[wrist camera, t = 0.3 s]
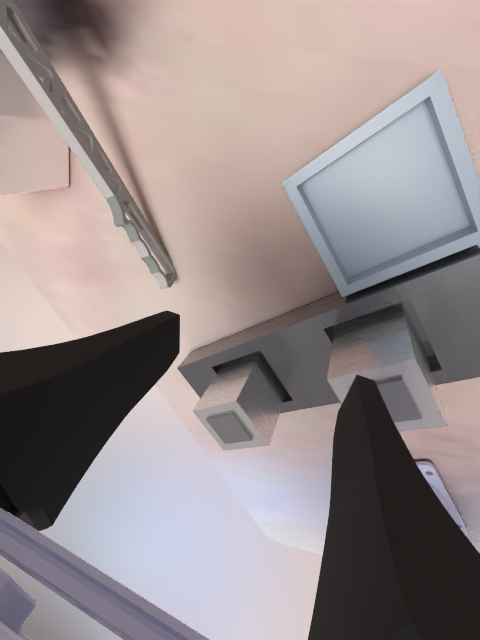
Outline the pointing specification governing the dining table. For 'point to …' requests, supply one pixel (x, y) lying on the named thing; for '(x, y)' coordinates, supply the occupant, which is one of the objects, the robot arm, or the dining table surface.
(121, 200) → the bracket
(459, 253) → the slotted metal plate
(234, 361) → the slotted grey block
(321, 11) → the dining table surface
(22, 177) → the jar
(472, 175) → the tray
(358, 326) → the light grey rectangular block
